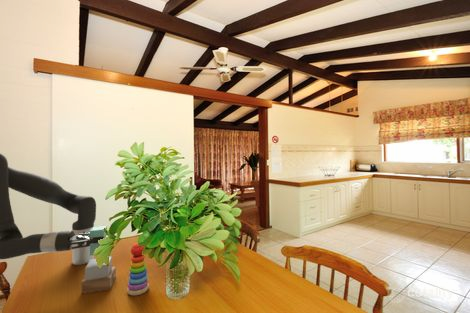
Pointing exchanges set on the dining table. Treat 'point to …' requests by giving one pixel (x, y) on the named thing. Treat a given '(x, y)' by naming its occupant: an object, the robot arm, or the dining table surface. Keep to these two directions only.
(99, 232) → the teal pillar block
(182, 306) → the dining table surface
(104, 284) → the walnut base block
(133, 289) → the stacking toy
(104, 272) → the grey top block
